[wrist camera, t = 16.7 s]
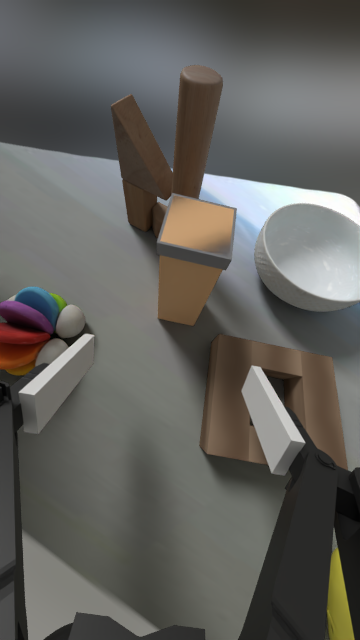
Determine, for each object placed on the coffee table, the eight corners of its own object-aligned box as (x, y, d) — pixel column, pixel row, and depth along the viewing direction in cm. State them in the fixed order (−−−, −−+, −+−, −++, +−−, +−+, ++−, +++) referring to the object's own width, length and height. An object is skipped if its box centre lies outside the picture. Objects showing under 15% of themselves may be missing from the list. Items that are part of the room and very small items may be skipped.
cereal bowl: (283, 225, 37) (311, 187, 30) (357, 286, 33) (406, 259, 26) (221, 266, 31) (238, 231, 25) (300, 346, 27) (345, 329, 21)
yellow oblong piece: (312, 652, 17) (355, 721, 13) (312, 529, 20) (347, 557, 16) (359, 667, 17) (415, 740, 13) (351, 542, 20) (395, 573, 16)
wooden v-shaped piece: (140, 211, 34) (125, 30, 17) (194, 239, 33) (233, 75, 16) (127, 223, 32) (98, 39, 16) (183, 254, 31) (214, 89, 15)
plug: (156, 319, 26) (156, 242, 14) (164, 286, 29) (171, 192, 16) (194, 327, 27) (231, 259, 14) (200, 294, 29) (236, 208, 16)
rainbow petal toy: (-12, 367, 22) (-85, 353, 15) (33, 295, 26) (-9, 258, 19) (61, 386, 22) (21, 380, 15) (95, 311, 26) (75, 281, 19)
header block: (199, 445, 21) (207, 453, 18) (211, 342, 26) (219, 333, 23) (320, 468, 22) (349, 479, 19) (310, 362, 27) (332, 357, 23)
